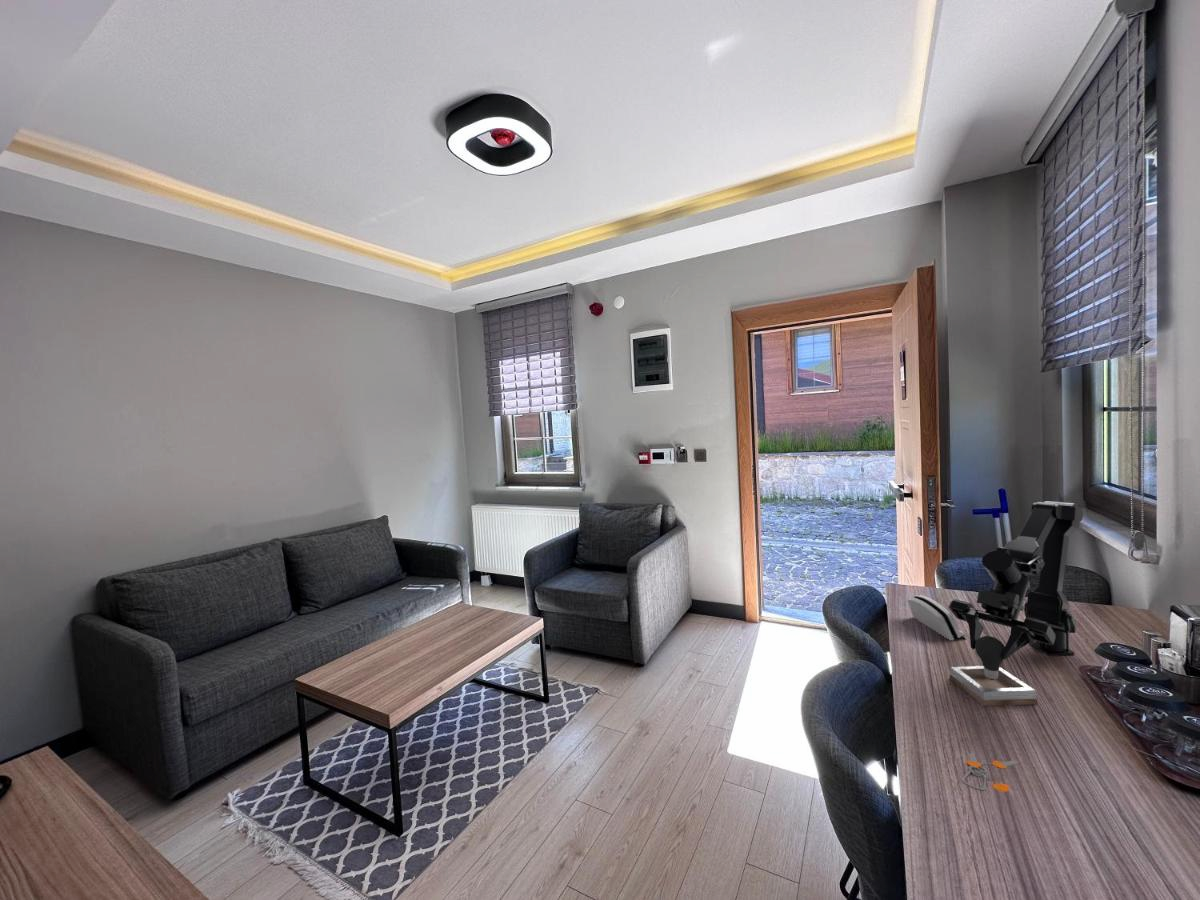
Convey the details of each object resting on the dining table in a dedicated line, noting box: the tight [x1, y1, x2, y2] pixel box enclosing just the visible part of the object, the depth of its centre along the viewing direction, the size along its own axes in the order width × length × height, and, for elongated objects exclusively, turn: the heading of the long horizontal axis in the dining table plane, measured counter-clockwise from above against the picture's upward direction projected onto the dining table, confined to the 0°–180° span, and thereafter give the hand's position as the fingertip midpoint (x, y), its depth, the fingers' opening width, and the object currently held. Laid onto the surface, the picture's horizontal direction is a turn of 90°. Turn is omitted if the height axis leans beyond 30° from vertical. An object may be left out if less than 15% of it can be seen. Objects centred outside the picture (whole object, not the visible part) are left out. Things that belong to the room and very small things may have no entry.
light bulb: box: [974, 635, 1006, 680], centre depth 111 cm, size 6×6×10 cm
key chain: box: [961, 752, 1019, 793], centre depth 87 cm, size 13×7×1 cm, turn 130°
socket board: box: [949, 674, 1038, 707], centre depth 111 cm, size 11×11×1 cm
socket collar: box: [950, 665, 1036, 701], centre depth 111 cm, size 11×11×2 cm
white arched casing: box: [907, 594, 968, 641], centre depth 144 cm, size 17×5×10 cm, turn 179°
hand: (987, 653), depth 110 cm, fingers closed on light bulb, 6 cm apart
